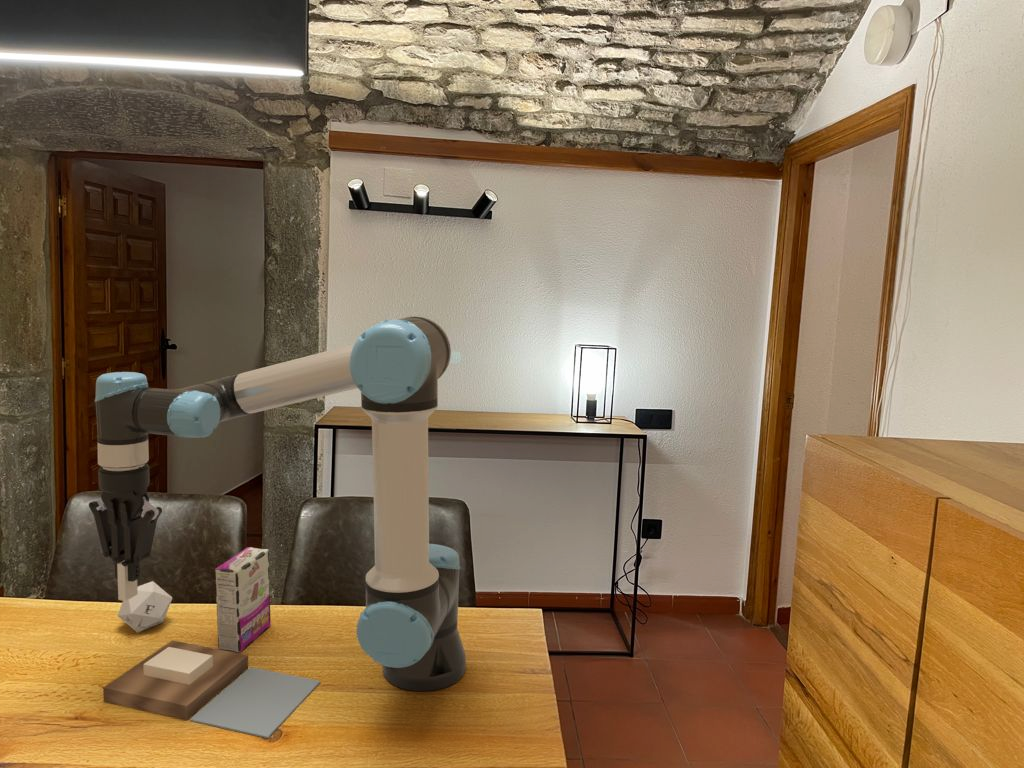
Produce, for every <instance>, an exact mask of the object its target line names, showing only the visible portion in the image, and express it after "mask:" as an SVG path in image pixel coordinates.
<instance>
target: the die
mask: <svg viewBox="0 0 1024 768" xmlns="http://www.w3.org/2000/svg"><path fill="white" fill-rule="evenodd" d="M137 591H138V595H136V596H134V597H132V598H131V599H129V600H127V601H122V603H121V605H120V608H119V611H118V612H117V617H118V618H119V619H121V621H123V622H124V624H126V625H128V627H130V628H131V629H132V630H133V631H134V632H136V633H137V634H139V633H141V632H143V631H146V630H149V629H151V628H153V627H154V626H157V625H160V624H162V623H164V621H165V618H166V615H167V613H168V611H169V608H170V605H171V602H172V601H173V597H172V596H171V595H170V594H169V593H167V592H166V591H165V590H164V589H163V588H162V587H160V585H158V584H157V583H156V582H154V580H152V581H149V582H146V583H144V584H141V585H137Z"/></svg>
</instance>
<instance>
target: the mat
mask: <svg viewBox="0 0 1024 768" xmlns="http://www.w3.org/2000/svg"><path fill="white" fill-rule="evenodd" d="M320 684H321V680H318V679H313V678H307V677H304V676H303V677H302V676H297V675H294V674H287V673H283V672H278V671H273V670H267V669H263V668H257V667H252V666H250V667H248V669H246V670H245V671H244V672H243V673H242V674H241V675H239V676H238V677H237V678H236V679H235V680H234V681H232V682H231V683H230V684H229V685H228V686H227V687H225V688H224V689H223V690H222V691H221V692H220V693H218V694H217V695H216V696H215V697H214V698H213V699H211V700H210V701H209V702H208V703H207V704H206V705H205V706H203V707H202V708H201V709H200V710H199V711H198V712H196V713H195V714H194V715H193V716H192V717H191V718H189V721H190V722H193V723H198V724H200V725H205V726H211V727H216V728H220V729H225V730H229V731H233V732H237V733H241V734H247V735H250V736H256V737H260V738H264V739H269V738H271V736H272V735H273V734H274V733H275V732H276V731H277V729H279V727H280V726H282V724H283V723H284V722H285V721H286V720H287V719H288V717H290V716H291V714H293V712H295V710H296V709H297V708H298V707H299V706H300V705H301V704H302V703H303V702H304V701H305V700H306V699H307V698H308V696H309V695H310V694H311V693H312V692H313V691H314V690H315V689H316V688H317V687H318V686H319V685H320Z"/></svg>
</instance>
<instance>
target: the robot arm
mask: <svg viewBox="0 0 1024 768" xmlns="http://www.w3.org/2000/svg"><path fill="white" fill-rule="evenodd" d="M451 349H452V348H451V343H450V340H449V338H448V335H447V334H446V332H445V331H444V329H443V328H442V327H441V326H440V325H439V324H437V322H435V321H433V320H431V319H430V318H429V319H428V318H427V317H424V316H423V317H422V316H407V317H404V318H394V319H385V320H384V321H382V320H381V321H380V322H378V323H376V324H374V325H373V326H371V327H369V328H367V329H366V330H364V332H362V334H360V336H358V338H357V340H356V341H355V343H353V344H349V345H346V346H341V347H338V348H333V349H330V350H326V351H322V352H319V353H314V354H311V355H307V356H304V357H299V358H296V359H291V360H288V361H284V362H279V363H276V364H272V365H268V366H265V367H261V368H257V369H252V370H249V371H245V372H241V373H239V374H234V375H229V376H223V377H220V378H216V379H214V380H210V381H207V382H203V383H202V382H201V383H198V384H193V385H191V386H187V387H182V388H178V389H177V388H176V389H173V388H171V389H169V388H168V389H167V388H156V387H149V383H148V378H147V376H146V375H145V374H143V373H139V372H134V371H121V372H120V371H115V372H107V373H103V374H101V375H100V376H98V377H97V378H96V381H95V396H94V397H95V398H94V403H95V405H94V406H95V417H96V427H97V436H96V438H97V441H96V442H97V465H98V466H100V467H99V468H98V469H97V471H98V476H97V477H98V489H100V490H101V494H100V498H98V499H95V500H93V501H90V502H89V503H88V507H89V509H90V511H91V513H92V514H93V518H94V521H95V525H96V529H97V533H98V539H99V542H100V546H101V550H102V555H103V556H104V558H111V560H112V562H113V563H114V576H115V579H116V580H117V594H118V596H117V599H118V601H122V602H123V601H127V600H129V599H131V598H132V597H134V596H136V595H138V591H137V587H138V580H139V579H140V577H141V571H140V570H141V568H140V564H141V563H140V562H142V561H144V560H147V559H148V558H150V557H151V553H152V548H153V543H154V538H155V533H156V527H157V523H158V519H159V517H160V516H161V514H162V513H163V508H162V507H160V506H157V507H155V506H154V505H153V504H152V503H150V496H149V494H148V492H147V490H148V487H149V485H150V481H151V480H150V465H149V464H148V462H149V459H150V458H149V457H150V456H149V434H154V435H159V436H160V435H162V436H170V437H171V436H172V437H179V438H184V439H192V438H193V439H195V438H196V439H198V438H199V439H204V438H208V437H209V436H211V435H212V434H213V432H214V431H215V430H216V429H217V427H218V426H219V424H220V423H221V422H226V421H228V420H233V419H236V418H240V417H245V416H249V415H251V414H255V413H259V412H263V411H268V410H272V409H276V408H281V407H285V406H289V405H293V404H297V403H302V402H304V401H305V402H307V401H310V400H313V399H318V398H322V397H327V396H330V395H334V394H338V393H342V392H347V391H352V390H355V389H358V390H359V391H360V397H361V410H362V411H363V412H364V413H365V414H366V415H367V416H368V417H369V418H370V419H371V436H372V437H371V439H372V440H371V441H372V443H371V444H372V483H373V485H372V489H373V522H374V523H373V529H374V530H373V531H374V533H373V535H374V536H373V537H374V538H373V539H374V565H373V567H371V569H369V571H367V572H366V574H365V607H364V609H363V610H362V611H361V612H360V615H359V618H358V620H357V624H356V637H357V641H358V643H359V646H360V648H361V649H362V650H363V652H364V653H365V654H366V655H368V656H369V657H370V658H371V659H372V660H373V661H374V662H375V663H377V664H379V665H381V666H382V674H383V677H384V678H385V679H386V681H388V682H389V683H390V684H392V685H393V686H395V687H397V688H400V689H403V690H408V691H414V692H430V691H437V690H441V689H444V688H445V689H446V688H447V687H450V686H452V685H454V684H455V683H457V682H458V681H459V680H461V678H463V676H464V674H465V672H466V669H467V668H466V667H467V663H466V662H467V658H466V651H465V648H464V646H463V642H462V639H461V636H460V633H459V629H458V619H459V617H458V616H459V615H458V613H459V590H460V589H459V587H460V570H461V566H460V555H459V554H458V551H456V550H455V549H453V548H451V547H448V546H446V545H441V544H436V543H430V510H429V509H430V505H429V503H430V502H429V501H430V499H429V497H430V493H429V492H430V491H429V490H430V489H429V486H430V485H429V483H430V482H429V418H430V416H431V415H432V414H433V413H434V412H435V411H436V410H437V409H438V405H439V403H438V399H439V398H438V391H439V389H438V387H439V385H438V380H439V379H440V378H441V377H442V376H443V375H444V374H445V372H446V371H447V369H448V367H449V366H450V365H449V364H450V361H451V354H452V351H451Z"/></svg>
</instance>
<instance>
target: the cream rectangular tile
mask: <svg viewBox="0 0 1024 768" xmlns="http://www.w3.org/2000/svg"><path fill="white" fill-rule="evenodd" d="M143 666H144V675H145V676H150V677H155V678H160V679H164V680H169V681H174V682H179V683H183V684H188V685H190V684H191V683H192V682H194V681H195V680H196V679H197V678H199V677H200V676H201V675H202V674H204V673H205V672H206V671H207V670H209V669H210V668H211V667H213V655H208V654H203V653H198V652H193V651H187V650H182V649H177V648H172V647H168V648H166V649H165V650H163V651H162V652H160V653H159V654H158V655H156V656H155V657H153V658H152V659H150V660H149V661H147V662H146V663H145V664H143Z"/></svg>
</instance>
